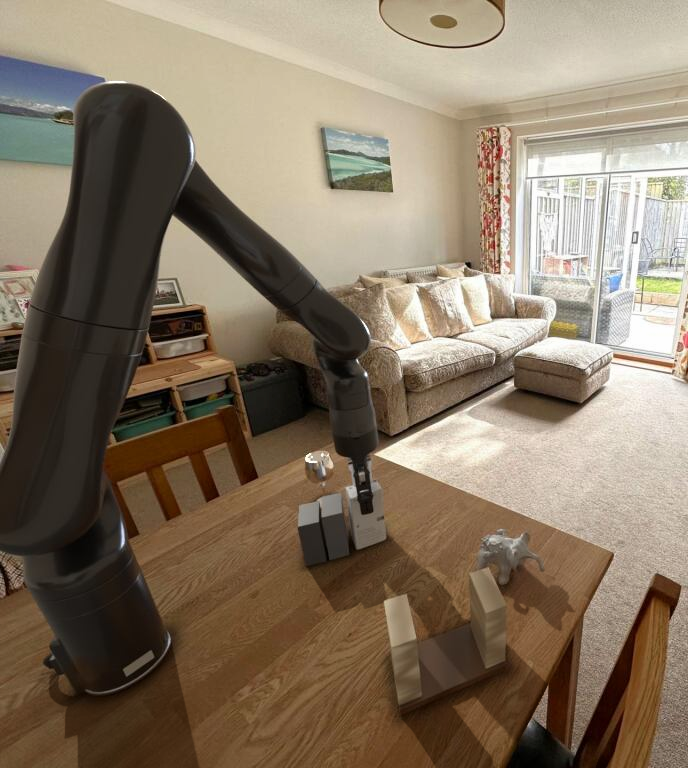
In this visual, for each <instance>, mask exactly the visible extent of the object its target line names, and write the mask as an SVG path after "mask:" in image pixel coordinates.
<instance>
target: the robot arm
mask: <svg viewBox="0 0 688 768" xmlns="http://www.w3.org/2000/svg"><path fill="white" fill-rule="evenodd" d="M72 122H73V152H72V163H71V164H72V166H71V175H70V182H69V183H70V184H69V193H68V198H67V202H66V206H65V211H64V214H63V217H62V220H61V223H60V225H59V228H58V229H57V231H56V234H55V235H54V238H53V240H52V241H51V244H50V245H49V248H48V250H47V252H46V254H45V256H44V259H43V261H42V264H41V266H40V269H39V271H38V274H37V277H36V280H35V283H34V285H33V289H32V291H31V294H30V298H29V303H28V307H27V310H26V315H25V319H24V324H23V329H22V332H21V337H20V345H19V352H18V357H17V363H16V369H15V379H14V380H15V381H14V388H13V399H12V402H13V403H12V413H11V414H12V415H11V424H10V430H9V433H8V439H7V442H6V445H5V448H4V451H3V454H2V457H1V458H0V552H1V553H4V554H7V555H11V556H15V557H16V556H17V557H21V563H22V579H23V582H24V584H25V586H26V588H27V590H28V591H29V594H30V595H31V597H32V598H33V600H34V602H35V603H36V605H37V607H38V609H39V611H40V612H41V614H42V616H43V617H44V619H45V621H46V623H47V624H48V626H49V627H50V630H51V631H52V633H53V635H54V636H53V638H52V639H51V641H50V643H49V644H48V649H49V651H50V652H51V653H49V654H48V655H46V656H45V657H44V658H43V662H42V664H43V665H44V666H45V667H46V668H47V669H49V670H53V671H54V672H55V674H56V676H61V675H64V676H65V677H66V679H67V680H68V682H69V684H70V685H71V687H72V689H73V691H74V693H75V694H76V695H77V696H80V695H83V694H88V695H89V696H90V695H91V696H93V697H104V696H110V695H113V694H114V695H115V694H117V693H119V692H122V691H124V690H126V689H128V688H130V687H133V686H135V685H136V684H137V683H139V682H141V681H142V680H143V679H145V678H146V677H148V676H149V675H150V674H151V673H152V672H154V671H155V670H156V669H157V668H158V667H159V665H160V664H161V663H162V662H163V661H164V659H166V656H167V655H168V653H169V651H170V649H171V646H172V637H171V634H170V633H169V631H168V629H167V627H166V625H165V623H164V621H163V618H162V615H161V613H160V611H159V608H158V606H157V604H156V601H155V600H154V597H153V595H152V592H151V589H150V586H149V585H148V582H147V581H146V577H145V574H144V573H143V571H142V568H141V566H140V563H139V562H138V559H137V557H136V555H135V552H134V549H133V547H132V545H131V542H130V538H129V534H128V528H127V524H126V520H125V517H124V514H123V512H122V509H121V507H120V504H119V501H118V499H117V497H116V494H115V490H114V488H113V485H112V483H111V481H110V479H109V476H108V475H107V472H106V471H105V463H106V455H107V449H108V445H109V442H110V437H111V434H112V433H113V432H112V431H113V429H114V426H115V424H116V422H117V419H118V418H119V415H120V413H121V411H122V408H123V406H124V404H125V402H126V399H127V397H128V394H129V392H130V389H131V386H132V384H133V382H134V378H135V376H136V373H137V370H138V368H139V364H140V362H141V358H142V355H143V353H144V349H145V344H146V341H147V337H148V333H149V330H150V325H151V321H152V316H153V315H152V314H153V310H154V305H155V300H156V294H157V288H158V283H159V273H160V265H161V256H162V251H163V250H162V249H163V245H164V240H165V237H166V234H167V231H168V228H169V225H170V222H171V220H172V218H173V217H174V218H175V219H177V220H178V221H179V222H180V223H182V225H184V226H185V227H186V228H188V229H189V230H190V231H191V232H193V233H194V234H195V236H197V237H198V238H200V239H201V240H202V241H203V242H204V243H205V244H206V245H207V246H208V247H210V248H211V249H212V250H213V251H214V252H215V254H217V255H218V256H219V257H220V258H222V260H223V261H225V262H226V263H227V264H228V265H229V266H230V267H231V268H232V269H233V270H234V271H235V272H236V273H237V274H238V275H240V276H241V278H242V279H244V281H246V282H247V283H248V284H249V285H250V286H251V287H252V288H253V289H254V290H256V292H257V293H258V294H260V295H261V296H262V297H263V298H264V299H266V301H267V302H268V303H270V304H271V305H272V306H274V308H275V309H277V310H278V311H279V312H280V313H281V314H283V315H284V316H286V317H287V318H288V319H290V320H292V321H293V322H295V323H297V324H299V325H300V326H302V327H303V328H304V329H305V330H307V331H308V333H310V342H311V346H312V350H313V353H314V356H315V358H316V361H317V364H318V367H319V369H320V372H321V375H322V376H323V379H324V382H325V383H324V384H325V391H326V396H327V402H328V410H329V412H328V413H329V414H328V416H329V423H330V428H331V435H332V440H333V441H332V442H333V445H334V452H335V453H336V454H337V455H338V456H340V457H341V458H347V464H348V465H347V467H348V470H349V472H350V476H351V481H352V485H353V486H354V487H356V491H357V501H358V503H359V504H360V510H361V514H362V515H366V514H370V513H373V511H374V510H373V503H372V500H373V495H372V494H373V492H372V490H371V483H372V482H373V479H374V478H373V473H372V467H373V462H372V458H371V453H373V452H374V451H376V450H377V448H378V447H379V444H380V441H379V434H378V424H377V418H376V416H377V415H376V409H375V407H374V403H373V398H372V389H371V383H370V377H369V373H368V372H367V371H366V370H365V368H363V366H362V365H361V364H360V362H359V359H361V358H362V357H364V356H365V355H366V354H367V353H368V352H369V350H370V348H371V344H372V336H371V332H370V330H369V328H368V326H367V324H366V323H365V322H364V321H363V320H362V318H361V317H360V316H359V315H357V314H356V312H354V311H353V310H352V309H351V308H350V307H348V306H347V305H346V304H344V303H343V302H342V301H341V300H340V299H338V298H337V297H336V296H334V295H333V294H332V293H330V292H329V290H327V289H326V288H325V287H324V286H323V284H321V282H320V281H319V280H318V279H317V277H315V276H314V274H312V273H311V271H310V270H309V269H308V268H307V267H306V266H305V265H304V264H303V263H302V262H301V261H300V260H299V258H297V257H296V256H295V255H294V254H293V253H292V252H291V251H290V250H288V248H287V247H286V246H284V245H283V244H282V243H281V242H280V241H278V239H276V238H275V237H274V236H273V235H271V234H270V233H269V232H268V231H266V230H265V229H264V228H263V227H262V226H261V225H259V224H258V223H257V222H256V221H255V220H254V219H252V218H251V217H250V216H249V215H248V214H247V213H245V212H244V211H243V210H242V209H241V208H240V207H239V206H238V205H236V204H235V203H234V202H233V201H232V200H231V199H230V198H229V197H228V196H227V194H226V193H224V192H223V191H222V190H221V188H220V187H218V185H217V184H216V183H215V182H214V181H213V180H212V179H211V177H210V176H209V175H208V173H207V172H206V171H205V170H204V169H203V167H202V166H201V165H200V164H199V162H198V161H197V159H196V157H197V156H196V155H197V153H196V145H195V141H194V137H193V134H192V132H191V130H190V128H189V125H188V123H187V122H186V121H185V119H184V117H183V116H182V115H181V114H180V112H179V111H178V110H177V109H176V107H175V106H173V104H172V103H171V102H170V101H168V100H167V99H166V98H164V97H163V96H162V95H160V93H158V92H155V91H154V90H152V89H150V88H148V87H145V86H143V85H140V84H137V83H133V82H128V81H121V80H120V81H119V80H117V81H116V80H113V81H112V80H111V81H105V82H104V81H103V82H100V83H97V84H93V85H91V86H90V87H88V88H86V89H85V90H84V91H82V93H81V94H80V95H79V96H78V98H76V101H75V104H74V106H73V113H72ZM363 490H369V491H364V492H360V491H363Z"/></svg>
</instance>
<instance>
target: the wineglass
mask: <svg viewBox="0 0 688 768" xmlns="http://www.w3.org/2000/svg"><path fill="white" fill-rule="evenodd" d="M304 472H305V476H306V478H307V481H309V482H310V483H311V484H315V485H316V484H317V485H318V484H320V485H319V486H320V488H321V490H322V495H323V496H328V495H329V494H328V495H327V494H326V493H327V492H326V483H327V482H329V481H330V480H331V479H332V478H333V476H334V475H335V462H334V461H333V458H332V456H331V455H330V453H329V452H328V451H326V450H316V451H313V452H310V453H309V454H307V455H306V457H305V459H304ZM323 496H321V497H319V498H317V499H316V501H315V502H317V501H319V502H320V507H321V509H322V497H323Z"/></svg>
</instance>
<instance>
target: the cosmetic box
mask: <svg viewBox="0 0 688 768" xmlns="http://www.w3.org/2000/svg"><path fill="white" fill-rule="evenodd" d="M344 490H345V496H346V505H347V513H348V518H349V520H348V521H349V528H350V534H351V539H352V542H353V544H354V547H355V549H356V551H357V550H362V549H364V548H367V547H369V546H372V545H375V544H378V543H381V542H383V541H385V540H386V539H387V530H386V529H387V528H386V519H385V518H386V517H385V508H384V497H383V489H382V487H381V485H380V483H379V482H378V479H376V478H373V482H372V483H371V490H372V492H373V494H372V495H373V500H372V503H373V510H374V511H373V513H370V514H366V515H362V514H361V510H360V504H359V503H358V501H357V491H356V487H354V486H353V484H352V485H349V486H345V487H344ZM364 491H369V490H363V491H360V492H364Z"/></svg>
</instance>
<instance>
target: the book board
mask: <svg viewBox="0 0 688 768" xmlns="http://www.w3.org/2000/svg"><path fill="white" fill-rule="evenodd" d="M468 577H469V580H468V581H469V616H470V617H469V618H470V619H469V621H470V623H469V624H465V625H463V626H460V627H457V628H454V629H452V630H449V631H446V632H444V633H441V634H438V635H436V636H433V637H430V638H428V639H425V640H422V641H420V642H418V640H417V639H418V637H417V635H416V629H415V625H414V621H413V618H412V612H411V608H410V603H409V599H408V594H407V593H404V594H401V595H398V596H394V597H391V598H389V599H385V600H383V606H384V613H385V620H386V629H387V635H388V644H389V650H390V658H391V664H392V665H391V666H392V671H393V677H394V685H395V691H396V695H397V696H396V698H397V704H398V711H399V716H402V715H404V714H407V713H409V712H411V711H414V710H417V709H418V708H421V707H423V706H425V705H428V704H430V703H432V702H434V701H437V700H439V699H441V698H442V699H443V698H444V697H446V696H449V695H451V694H453V693H455V692H458V691H460V690H463V689H465V688H467V687H469V686H472V685H474V684H477V683H478V682H480V681H483V680H485V679H486V680H487V679H488V678H490V677H492V676H494V675H497V674H499V673H502V672H504V671H506V670H507V661H506V652H507V651H506V647H507V611H508V610H507V609H508V607H507V603H506V601H505V599H504V597H503V594H502V592H501V590H500V588H499V587H498V584H497V582H496V580H495V578H494V575H493V574H492V571H491V569H490V568H489V567H486V568H485V569H481V570H478V571H477V570H476V571H473V572H470V573H469V575H468Z"/></svg>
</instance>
